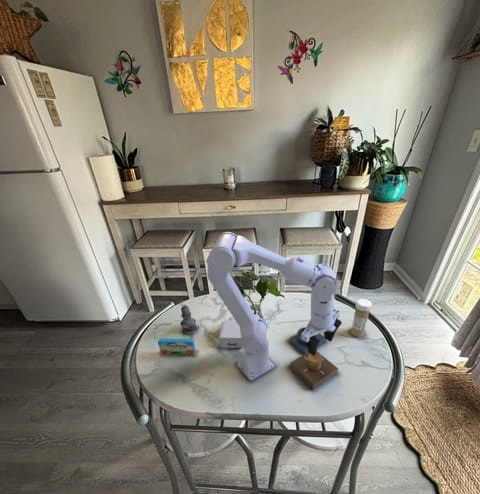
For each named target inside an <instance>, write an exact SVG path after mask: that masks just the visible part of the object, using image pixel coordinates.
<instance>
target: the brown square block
mask: <svg viewBox="0 0 480 494" xmlns="http://www.w3.org/2000/svg"><path fill="white" fill-rule="evenodd" d="M316 353H319V351H317V352H316ZM308 354H309V352H307V353H306V354H302V355H300V356H299V357H297V358H295V359H294V360H292V361H291V362H290V363H289V368H290V370H291V371H292V372H294V373H295V374H296V375H297V376H298V378H300V379H301V381H303V382H304V383H305V384H306V385H307V386H308V387H309V388H310V390H312V391H314V390H316V389H317V388H319V387H320V386H322V385H323V384H324V383H326V382H327V381H329V380H331V379H332V378H333V377H335V376H336V375H338V371H339V367H337V366H336V365H335V364H334V363H332V362H331V361H330V360H328V359H327V358H326V357H325V356H324V355H322V354H321V353H320V355H321V357H322V360H321V367H320V369H319V370H311V369H309V368H308V366H307V360H308Z"/></svg>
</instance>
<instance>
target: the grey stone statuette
mask: <svg viewBox="0 0 480 494" xmlns="http://www.w3.org/2000/svg"><path fill="white" fill-rule="evenodd" d="M180 311H181V318H182V320H181V321H180V323H179V325H180V327H181V328H182V333H183V334H184V335H192V334H195V333H196V332H197V329H198V328H197V327H196V325H197V324H196V323H197V320H196V319H195V318H194V317H192V312H191V311H190V306H188V305H186V304H183V306H181V307H180Z"/></svg>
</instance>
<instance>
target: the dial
mask: <svg viewBox="0 0 480 494" xmlns="http://www.w3.org/2000/svg"><path fill="white" fill-rule="evenodd" d="M320 354H321V353H320V352H318V353H316V355H314V356H313V355H312V354H310V353H309V354H308V360H307V366H308V368H309V369H311V370H319V369H320V367H321V360H322V357H321V355H322V354H321V355H320Z"/></svg>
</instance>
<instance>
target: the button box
mask: <svg viewBox="0 0 480 494" xmlns="http://www.w3.org/2000/svg"><path fill="white" fill-rule="evenodd" d="M305 327H306V326H305ZM305 327H304V326H303V327H301V328H299V329H298V330H297V332H296V334H294V335H292V336H290V337H288V338H289V339H288V342H289V343H290V344H291V345H292V346H294V347H295V348H296V349H297V350H298V351H300V352H301V353H302V355H304V354H306V353H307V352H308V349H307V346H306V344H305V342H304V341H303V340H302V339H301V337H300V333H301V332H302V329H303V328H305ZM315 336H316V338H317V339H319V340H320V342H319V344H318V347H319V346H321V345H323V344H324V343H326V342H327V339H325V337H324V335H323V334H322V333H320V334H317V335H315Z"/></svg>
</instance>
